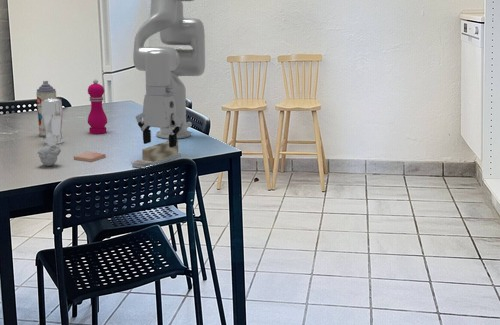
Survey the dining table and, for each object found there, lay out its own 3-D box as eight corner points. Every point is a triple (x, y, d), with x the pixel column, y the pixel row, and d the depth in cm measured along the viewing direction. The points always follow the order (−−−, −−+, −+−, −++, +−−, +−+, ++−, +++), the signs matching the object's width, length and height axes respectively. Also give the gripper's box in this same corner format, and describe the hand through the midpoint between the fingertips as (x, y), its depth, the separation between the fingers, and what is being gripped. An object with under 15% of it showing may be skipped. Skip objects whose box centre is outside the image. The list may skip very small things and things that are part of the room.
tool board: (167, 153, 216) (167, 151, 216) (180, 155, 214) (180, 153, 213) (132, 166, 199) (132, 164, 199) (145, 168, 197) (145, 166, 197)
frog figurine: (61, 167, 198) (60, 144, 196) (37, 168, 196) (35, 145, 195) (62, 162, 204) (61, 140, 202) (39, 163, 202) (37, 141, 200)
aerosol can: (38, 134, 244) (34, 80, 239) (57, 133, 247) (54, 79, 242) (40, 137, 238) (36, 82, 233) (59, 136, 241) (56, 81, 236)
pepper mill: (105, 134, 245) (102, 80, 240) (86, 134, 245) (83, 80, 240) (109, 130, 252) (107, 78, 247) (90, 130, 252) (88, 78, 247)
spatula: (168, 151, 216) (168, 139, 215) (181, 152, 214) (181, 140, 213) (131, 164, 199) (130, 151, 198) (144, 166, 197) (144, 153, 196)
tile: (88, 151, 213) (73, 156, 207) (105, 154, 210) (91, 158, 204) (88, 156, 214) (73, 160, 208) (105, 158, 211) (91, 163, 205)
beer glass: (58, 139, 236) (55, 97, 232) (68, 142, 231) (65, 100, 228) (40, 142, 231) (37, 99, 228) (50, 145, 226) (47, 102, 223)
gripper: (188, 91, 202) (189, 145, 206) (142, 87, 210) (144, 139, 214) (175, 94, 196) (176, 150, 200) (128, 90, 203) (130, 144, 208)
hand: (159, 144), depth 207 cm, fingers open, 9 cm apart
